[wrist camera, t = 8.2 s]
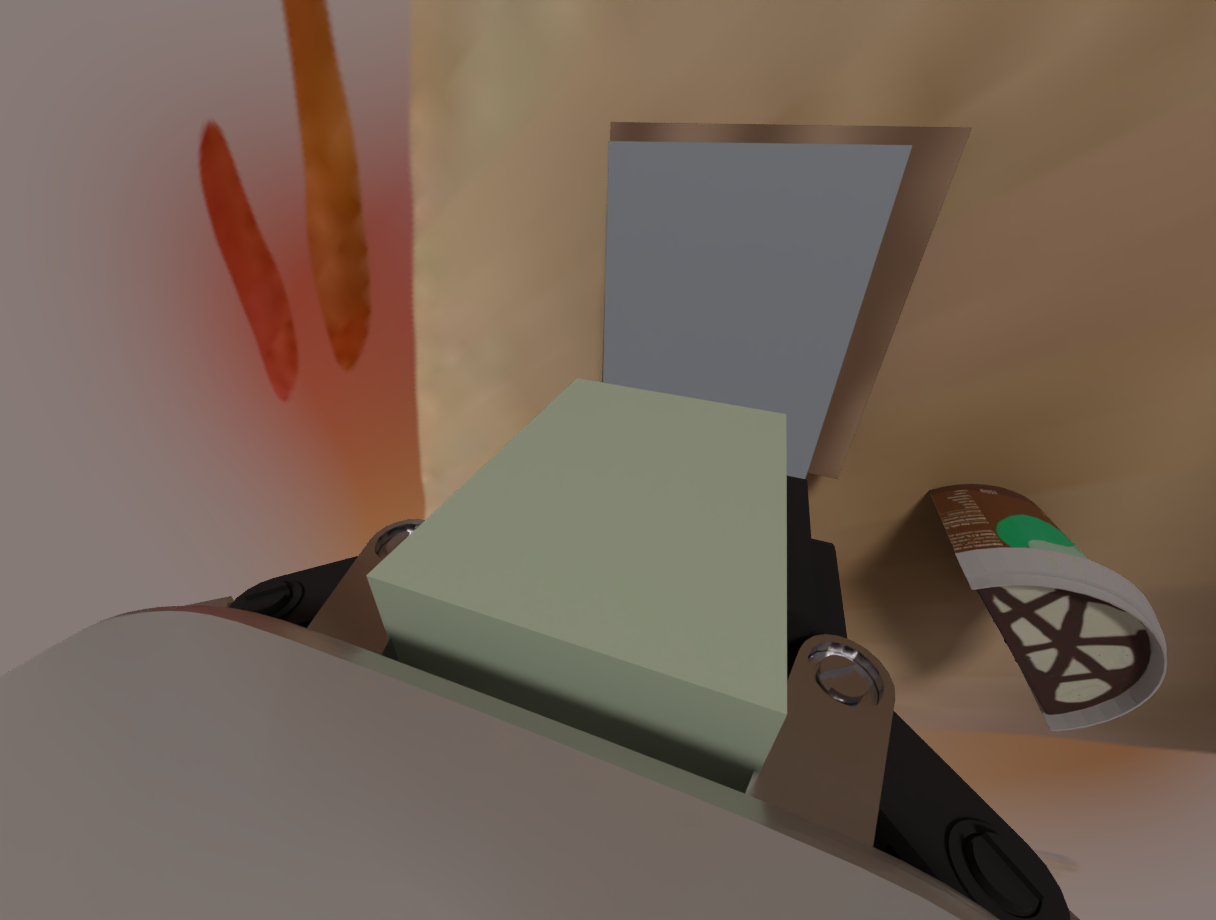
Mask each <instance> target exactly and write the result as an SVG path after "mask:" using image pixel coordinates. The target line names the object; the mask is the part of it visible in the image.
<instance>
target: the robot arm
mask: <svg viewBox="0 0 1216 920" xmlns="http://www.w3.org/2000/svg"><path fill="white" fill-rule="evenodd" d="M424 521H425V520H421V519H408V520H403V521H399V522H396V523H393V524H391V525H388V526H386V527H384V528H383V529H381V530H380V531H379V532H377V533H376V534H375V535H374V536H373V537H372V538H371V539H370V540H369V542H368V543H367V545H366V546H365V547H364V549H363V550H362V552H361V553H360V554H359V556H356V557H352V558H348V559H345V560H341V561H337V562H333V563H330V564H326V565H322V566H318V567H314V568H310V569H307V570H303V571H299V572H295V573H292V574H288V575H284V576H280V577H276V578H273V579H270V580H267V581H264V582H261V583H259V584H258V585H256V586H254V587H252V588H250V589H248V590H247V591H245V592H244V593H243V594H241V595H240V596H239V597H237V598H236V599H235V601H234V600H233V598H232V597H231V596H229V597H225V598H220V599H215V600H210V601H205V602H200V603H195V604H191V605H185V606H171V607H156V608H149V609H142V610H137V611H132V612H127V613H123V614H120V615H117V616H114V617H111V618H108V619H105V620H102V621H100V622H98V623H96V624H93V625H91V626H90V627H87V628H85V629H83V630H81V631H79V632H77V633H75V634H74V635H72V636H70V637H68V638H66V639H65V640H63V641H61V642H59V643H57V644H55V645H53V646H52V647H50V648H48V649H46V650H45V651H43V652H41V653H39V654H38V655H36V656H35V657H33V658H31V659H29V660H28V661H26V662H24V663H23V664H21V665H19V666H18V667H16V668H14V669H12V670H11V671H9V672H7V673H6V674H4V675H3V676H1V677H0V920H1080V919H1079V918H1077V916H1075V915H1074V914H1073V913H1072V912H1071V911H1070V910H1069V909H1068V907H1067V904H1066V901H1065V899H1064V896H1063V894H1062V891H1061V889H1060V887H1059V885H1058V884H1057V882H1056V881H1055V879H1054V877H1053V876H1052V874H1051V873H1050V871H1049V869H1048V868H1047V866H1046V865H1045V864H1044V863H1043V861H1042V860H1041V859H1040V858H1039V857H1038V856H1037V854H1036V853H1035V852H1034V851H1033V850H1032V849H1031V847H1030V846H1029V845H1028V844H1027V843H1026V842H1025V841H1024V840H1023V839H1022V838H1021V837H1020V836H1019V835H1018V834H1017V833H1016V832H1015V831H1014V830H1013V829H1012V828H1011V827H1010V826H1009V825H1008V824H1007V823H1006V822H1005V821H1004V820H1003V819H1002V818H1001V817H1000V816H999V815H998V814H997V813H996V812H995V811H994V810H993V809H992V808H991V807H990V806H989V805H988V804H987V803H985V801H984V800H983V799H982V798H981V797H980V796H979V795H978V794H977V793H976V792H975V791H974V790H973V789H971V788H970V786H969V785H968V784H967V783H966V782H964V781H963V780H962V778H961V777H960V776H959V775H958V774H957V773H956V772H955V771H954V770H953V769H951V767H950V766H949V765H948V764H947V763H945V762H944V760H942V758H940V756H938V754H936V753H935V752H934V751H933V750H932V749H931V748H930V747H929V746H928V745H927V744H926V743H925V742H924V741H923V740H922V739H921V738H920V737H919V736H918V735H917V734H916V733H915V732H914V731H913V730H912V729H911V728H910V727H909V726H908V725H907V724H906V723H905V722H904V721H903V720H902V719H901V718H900V717H899V716H898V715H897V714H896V713H895V712H894V711H893V710H894V704H895V688H894V684H893V682H892V679H891V677H890V675H889V673H888V671H887V670H886V669H885V667H884V666H883V665H882V663H881V662H880V661H879V660H878V659H877V658H876V657H875V656H874V655H873V654H872V653H870V652H869V651H868V650H867V649H865V648H864V647H862V646H861V645H859V644H857V643H856V642H854V641H852V640H849V639H847V633H846V625H845V618H844V610H843V603H842V596H841V588H840V581H839V573H838V566H837V558H836V551H835V547H834V545H833V544H832V543H828V542H824V541H820V540H815V539H811V529H810V515H809V501H808V486H807V480H806V479H802V478H797V477H792V476H787V716H786V718H785V720H784V722H783V724H782V726H781V729H780V731H779V733H778V735H777V737H776V739H775V741H774V743H773V745H772V748H771V750H770V752H769V754H768V756H767V758H766V760H765V762H764V765H763V767H762V769H761V771H757V770H754V771H753V774H752V776H751V778H750V780H749V782H748V785H747V787H746V789H745V791H744V793H742V792H739V791H737V790H734V789H731V788H729V787H726V786H724V785H721V784H718V783H716V782H713V781H711V780H708V779H705V778H703V777H700V776H698V775H695V774H692V773H690V772H687V771H685V770H682V769H680V768H677V767H674V766H672V765H669V764H667V763H664V762H661V761H659V760H656V759H654V758H651V757H648V756H646V755H643V754H641V753H638V752H635V751H633V750H630V749H628V748H625V747H622V746H620V745H617V744H615V743H612V742H609V741H607V740H604V739H602V738H599V737H596V736H594V735H591V734H589V733H586V732H583V731H581V730H578V729H575V728H573V727H570V726H568V725H565V724H562V723H560V722H557V721H554V720H552V719H549V718H546V717H544V716H541V715H539V714H536V713H533V712H531V711H528V710H525V709H523V708H520V707H518V706H515V705H512V704H510V703H507V702H504V701H502V700H499V699H496V698H494V697H491V696H488V695H486V694H483V693H481V692H478V691H475V690H473V689H470V688H467V687H465V686H462V685H459V684H457V683H454V682H451V681H449V680H446V679H443V678H441V677H438V676H435V675H433V674H430V673H427V672H425V671H422V670H419V669H417V668H414V667H411V666H409V665H406V664H403V663H401V662H398V661H397V660H398V656H397V653H396V650H395V647H394V645H393V642H392V639H391V637H390V636H388V635H387V633H386V631H385V628H384V625H383V622H382V619H381V616H380V613H379V611H378V608H377V605H376V602H375V599H374V596H373V593H372V591H371V588H370V585H369V582H368V579H367V576H366V575H367V574H368V573H369V572H371V571H372V570H373V569H374V568H375V567H376V566H377V565H378V564H379V563H380V562H381V561H382V560H383V559H384V558H386V557H387V556H388V555H389V554H390V553H391V552H392V551H393V550H394V549H395V548H396V547H397V546H398V545H399V544H400V543H402V542H403V541H404V540H405V539H406V538H407V537H408V536H409V535H410V534H411V533H412V532H413V531H414V530H415V529H417V528H418V527H419V526H420V525H421V524H422V523H423V522H424Z"/></svg>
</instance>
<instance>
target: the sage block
mask: <svg viewBox="0 0 1216 920" xmlns="http://www.w3.org/2000/svg"><path fill="white" fill-rule="evenodd" d="M366 576H367V579H368V582H369V585H370V588H371V591H372V593H373V596H374V599H375V602H376V605H377V608H378V611H379V613H380V616H381V619H382V622H383V625H384V628H385V631H386V633H387V635H388V636H390V637H391V639H392V642H393V645H394V647H395V650H396V653H397V656H398V660H397V661H398V662H401V663H403V664H406V665H409V666H411V667H414V668H417V669H419V670H422V671H425V672H427V673H430V674H433V675H435V676H438V677H441V678H443V679H446V680H449V681H451V682H454V683H457V684H459V685H462V686H465V687H467V688H470V689H473V690H475V691H478V692H481V693H483V694H486V695H488V696H491V697H494V698H496V699H499V700H502V701H504V702H507V703H510V704H512V705H515V706H518V707H520V708H523V709H525V710H528V711H531V712H533V713H536V714H539V715H541V716H544V717H546V718H549V719H552V720H554V721H557V722H560V723H562V724H565V725H568V726H570V727H573V728H575V729H578V730H581V731H583V732H586V733H589V734H591V735H594V736H596V737H599V738H602V739H604V740H607V741H609V742H612V743H615V744H617V745H620V746H622V747H625V748H628V749H630V750H633V751H635V752H638V753H641V754H643V755H646V756H648V757H651V758H654V759H656V760H659V761H661V762H664V763H667V764H669V765H672V766H674V767H677V768H680V769H682V770H685V771H687V772H690V773H692V774H695V775H698V776H700V777H703V778H705V779H708V780H711V781H713V782H716V783H718V784H721V785H724V786H726V787H729V788H731V789H734V790H737V791H739V792H742V793H744V791H745V789H746V787H747V785H748V782H749V780H750V778H751V776H752V774H753V771H754V770H757V771H761V769H762V767H763V765H764V762H765V760H766V758H767V756H768V754H769V752H770V750H771V748H772V745H773V743H774V741H775V739H776V737H777V735H778V733H779V731H780V729H781V726H782V724H783V722H784V720H785V718H786V716H787V440H786V414H783V413H777V412H772V411H766V410H760V409H754V408H748V407H742V406H737V405H731V404H725V403H719V402H713V401H707V400H701V399H696V398H690V397H684V396H678V395H672V394H666V393H661V392H655V391H649V390H643V389H637V388H631V387H626V386H620V385H614V384H608V383H602V382H596V381H591V380H585V379H579V378H577V379H576V380H575V381H574V382H573V383H572V384H571V385H569V386H568V387H567V388H566V389H565V390H564V391H563V392H562V393H561V394H560V395H559V396H558V397H557V398H556V399H555V400H553V401H552V402H551V403H550V404H549V405H548V406H547V407H546V408H545V409H544V410H543V411H542V412H541V413H540V414H538V415H537V416H536V417H535V418H534V419H533V420H532V421H531V422H530V423H529V424H528V425H527V426H526V427H525V428H523V429H522V430H521V431H520V432H519V433H518V434H517V435H516V436H515V437H514V438H513V439H512V440H511V441H510V442H509V443H507V444H506V445H505V446H504V447H503V448H502V449H501V450H500V451H499V452H498V453H497V454H496V455H495V456H494V457H492V458H491V459H490V460H489V461H488V462H487V463H486V464H485V465H484V466H483V467H482V468H481V469H480V470H479V471H477V472H476V473H475V474H474V475H473V476H472V477H471V478H470V479H469V480H468V481H467V482H466V483H465V484H464V485H463V486H461V487H460V488H459V489H458V490H457V491H456V492H455V493H454V494H453V495H452V496H451V497H450V498H449V499H448V500H446V501H445V502H444V503H443V504H442V505H441V506H440V507H439V508H438V509H437V510H436V511H435V512H434V513H433V514H431V515H430V516H429V517H428V518H427V519H426V520H425V521H424V522H423V523H422V524H421V525H420V526H419V527H418V528H417V529H415V530H414V531H413V532H412V533H411V534H410V535H409V536H408V537H407V538H406V539H405V540H404V541H403V542H402V543H400V544H399V545H398V546H397V547H396V548H395V549H394V550H393V551H392V552H391V553H390V554H389V555H388V556H387V557H386V558H384V559H383V560H382V561H381V562H380V563H379V564H378V565H377V566H376V567H375V568H374V569H373V570H372V571H371V572H369V573H368V574H367V575H366Z"/></svg>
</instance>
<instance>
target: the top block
mask: <svg viewBox="0 0 1216 920" xmlns="http://www.w3.org/2000/svg"><path fill="white" fill-rule="evenodd" d="M911 149H912V145H858V144H784V143H710V142H636V141H609V152H608V193H607V235H606V277H605V319H604V360H603V383H608V384H614V385H620V386H626V387H631V388H637V389H643V390H649V391H655V392H661V393H666V394H672V395H678V396H684V397H690V398H696V399H701V400H707V401H713V402H719V403H725V404H731V405H737V406H742V407H748V408H754V409H760V410H766V411H772V412H777V413H783V414H786V440H787V476H792V477H797V478H802V479H805V478H806V475H807V472H808V469H809V466H810V463H811V460H812V457H813V454H814V450H815V447H816V444H817V441H818V438H819V435H820V432H821V429H822V425H823V422H824V419H825V416H826V413H827V410H828V407H829V404H830V401H831V397H832V394H833V391H834V388H835V385H836V382H837V379H838V376H839V373H840V369H841V366H842V363H843V360H844V357H845V354H846V351H847V348H848V345H849V341H850V338H851V335H852V332H853V329H854V326H855V323H856V320H857V317H858V313H859V310H860V307H861V304H862V301H863V298H864V295H865V292H866V289H867V285H868V282H869V279H870V276H871V273H872V270H873V267H874V264H875V261H876V257H877V254H878V251H879V248H880V245H881V242H882V239H883V236H884V233H885V229H886V226H887V223H888V220H889V217H890V214H891V211H892V208H893V205H894V201H895V198H896V195H897V192H898V189H899V186H900V183H901V180H902V177H903V173H904V170H905V167H906V164H907V161H908V158H909V155H910V152H911Z"/></svg>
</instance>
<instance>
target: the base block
mask: <svg viewBox="0 0 1216 920" xmlns="http://www.w3.org/2000/svg"><path fill="white" fill-rule="evenodd" d="M971 129H972V128H962V127H896V126H831V125H765V124H700V123H635V122H611V130H610V141H636V142H710V143H784V144H858V145H912V149H911V152H910V155H909V158H908V161H907V164H906V167H905V170H904V173H903V177H902V180H901V183H900V186H899V189H898V192H897V195H896V198H895V201H894V205H893V208H892V211H891V214H890V217H889V220H888V223H887V226H886V229H885V233H884V236H883V239H882V242H881V245H880V248H879V251H878V254H877V257H876V261H875V264H874V267H873V270H872V273H871V276H870V279H869V282H868V285H867V289H866V292H865V295H864V298H863V301H862V304H861V307H860V310H859V313H858V317H857V320H856V323H855V326H854V329H853V332H852V335H851V338H850V341H849V345H848V348H847V351H846V354H845V357H844V360H843V363H842V366H841V369H840V373H839V376H838V379H837V382H836V385H835V388H834V391H833V394H832V397H831V401H830V404H829V407H828V410H827V413H826V416H825V419H824V422H823V425H822V429H821V432H820V435H819V438H818V441H817V444H816V447H815V450H814V454H813V457H812V460H811V463H810V466H809V469H808V472H807V473H810V474H815V475H820V476H825V477H830V478H835V479H838V476H839V474H840V471H841V469H842V466H843V463H844V461H845V458H846V455H847V453H848V450H849V448H850V445H851V442H852V440H853V437H854V435H855V432H856V429H857V427H858V424H859V422H860V419H861V416H862V414H863V411H864V408H865V406H866V403H867V401H868V398H869V395H870V393H871V390H872V388H873V385H874V382H875V380H876V377H877V374H878V372H879V369H880V367H881V364H882V361H883V359H884V356H885V354H886V351H887V348H888V346H889V343H890V340H891V338H892V335H893V333H894V330H895V327H896V325H897V322H898V320H899V317H900V314H901V312H902V309H903V307H904V304H905V301H906V299H907V296H908V293H909V291H910V288H911V286H912V283H913V280H914V278H915V275H916V273H917V270H918V267H919V265H920V262H921V259H922V257H923V254H924V252H925V249H926V246H927V244H928V241H929V239H930V236H931V233H932V231H933V228H934V225H935V223H936V220H937V218H938V215H939V212H940V210H941V207H942V205H943V202H944V199H945V197H946V194H947V191H948V189H949V186H950V184H951V181H952V178H953V176H954V173H955V171H956V168H957V165H958V163H959V160H960V158H961V155H962V152H963V150H964V147H965V144H966V142H967V139H968V137H969V134H970V131H971ZM604 319H605V311H604ZM603 360H604V341H603ZM602 383H603V371H602Z"/></svg>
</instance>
